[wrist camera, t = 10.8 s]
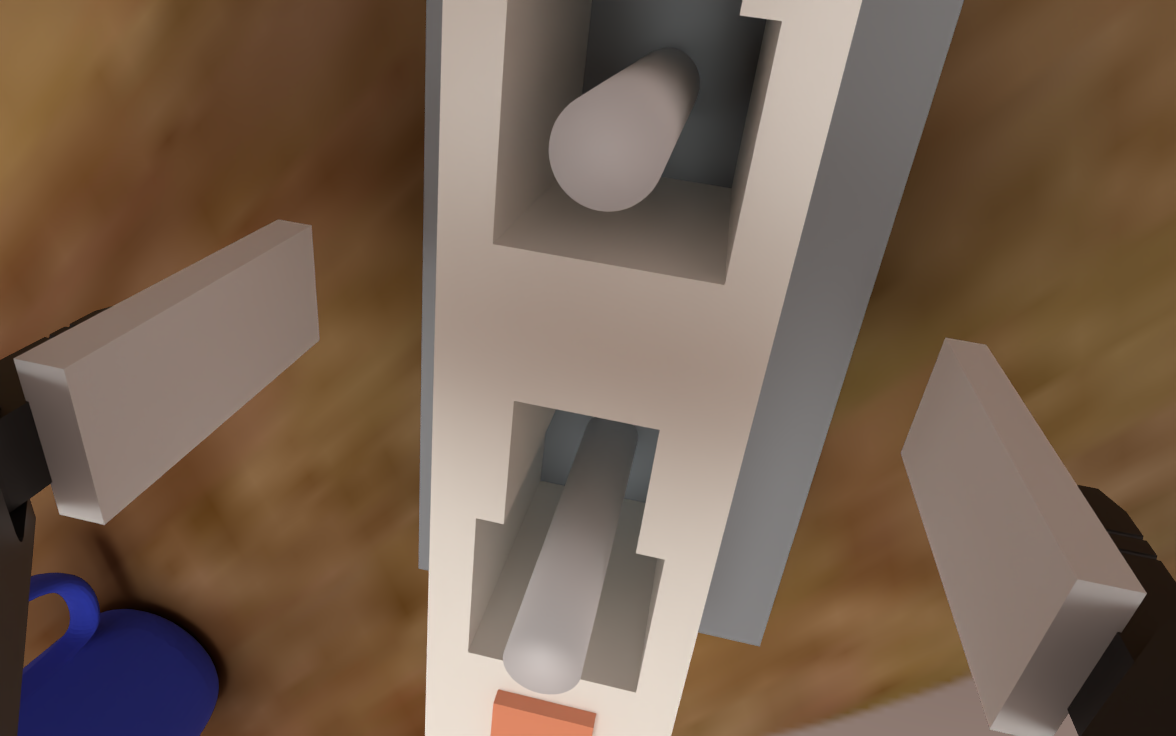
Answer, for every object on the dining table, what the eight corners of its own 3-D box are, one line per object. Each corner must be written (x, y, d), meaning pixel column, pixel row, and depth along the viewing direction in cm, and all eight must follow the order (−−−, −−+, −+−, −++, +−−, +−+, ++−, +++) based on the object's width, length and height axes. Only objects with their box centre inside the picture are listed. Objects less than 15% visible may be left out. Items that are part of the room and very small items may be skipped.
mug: (176, 511, 29) (-70, 735, 20) (268, 726, 34) (103, 979, 25) (6, 507, 31) (-288, 712, 22) (118, 712, 36) (-85, 944, 27)
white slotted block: (569, -236, 15) (440, -405, 9) (865, -206, 15) (962, -365, 8) (501, 568, 26) (419, 765, 19) (674, 608, 25) (649, 825, 18)
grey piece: (451, -302, 16) (110, -645, 8) (1027, -249, 15) (1424, -592, 6) (431, 546, 27) (284, 803, 19) (759, 619, 26) (766, 933, 17)
